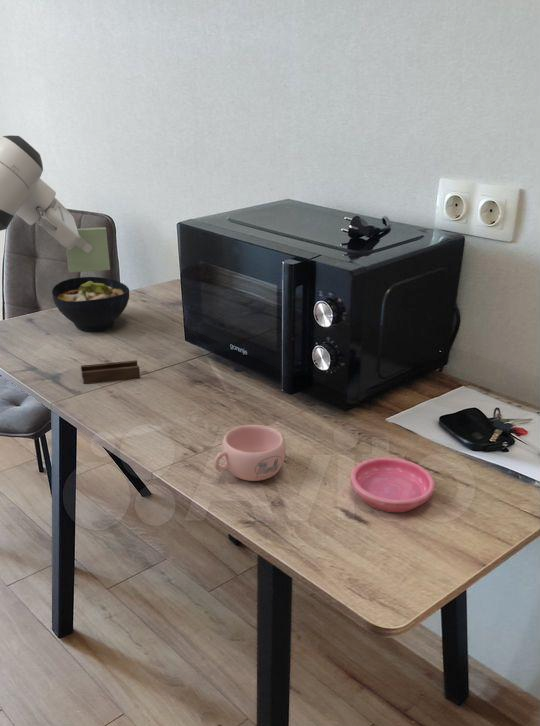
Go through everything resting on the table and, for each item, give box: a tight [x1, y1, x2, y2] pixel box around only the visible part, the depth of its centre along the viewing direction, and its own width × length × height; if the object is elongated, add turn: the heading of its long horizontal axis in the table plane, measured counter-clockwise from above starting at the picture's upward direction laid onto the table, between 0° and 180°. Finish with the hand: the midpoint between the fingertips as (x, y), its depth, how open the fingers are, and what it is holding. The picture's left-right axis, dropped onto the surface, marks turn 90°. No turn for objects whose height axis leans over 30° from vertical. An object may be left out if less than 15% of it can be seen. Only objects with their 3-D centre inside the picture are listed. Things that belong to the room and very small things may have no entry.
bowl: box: [51, 276, 130, 333], centre depth 161 cm, size 17×17×10 cm
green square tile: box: [65, 226, 111, 274], centre depth 154 cm, size 9×1×9 cm, turn 107°
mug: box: [213, 424, 287, 482], centre depth 109 cm, size 12×10×6 cm
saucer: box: [350, 456, 436, 513], centre depth 106 cm, size 12×12×3 cm
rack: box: [80, 359, 141, 385], centre depth 139 cm, size 11×4×2 cm, turn 107°
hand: (89, 248), depth 154 cm, fingers closed on green square tile, 1 cm apart
